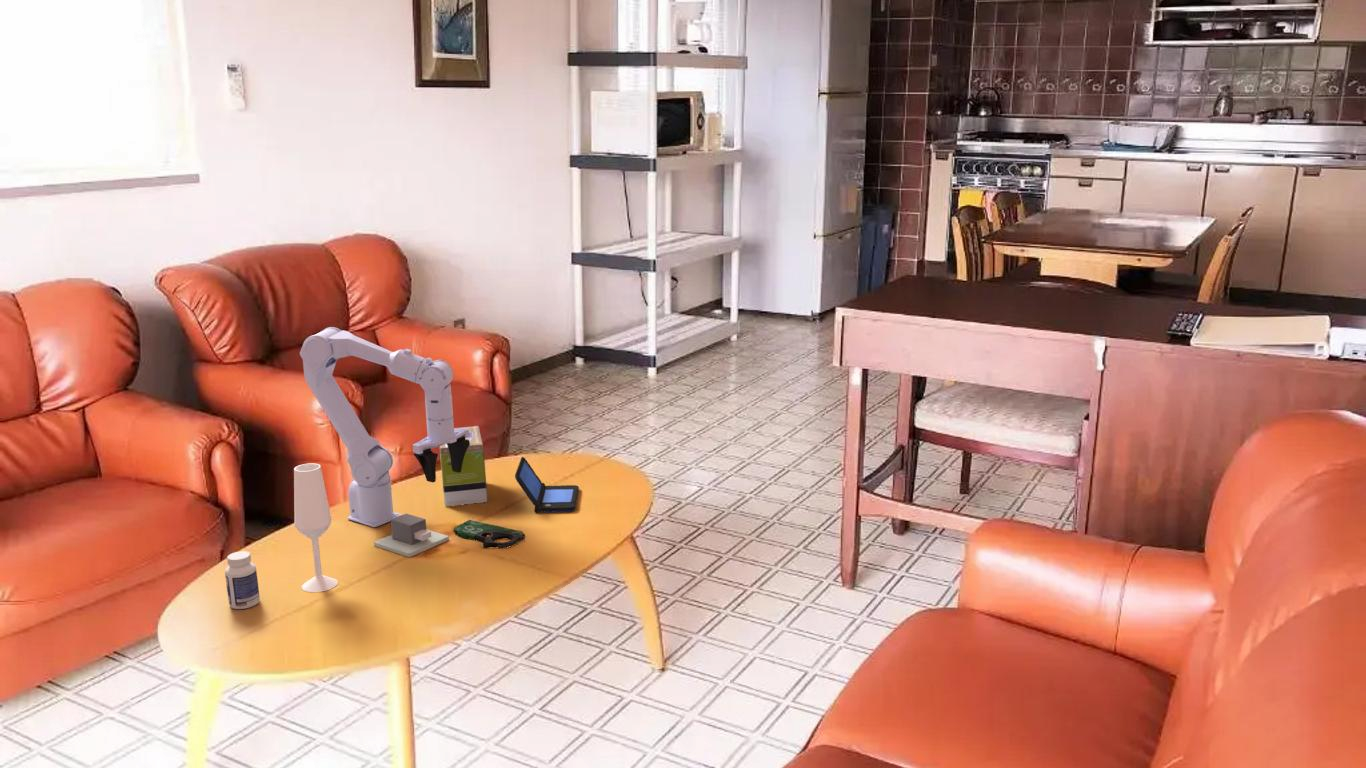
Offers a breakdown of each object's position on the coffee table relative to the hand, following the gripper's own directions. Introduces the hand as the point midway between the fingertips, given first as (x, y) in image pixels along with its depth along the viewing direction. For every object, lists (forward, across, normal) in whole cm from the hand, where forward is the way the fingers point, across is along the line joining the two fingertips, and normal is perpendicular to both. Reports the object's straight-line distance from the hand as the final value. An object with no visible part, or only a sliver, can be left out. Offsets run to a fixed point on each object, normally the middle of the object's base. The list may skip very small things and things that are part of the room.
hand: (444, 476), depth 239 cm
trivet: (+10, -13, -3) cm, 17 cm away
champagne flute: (+11, -37, -4) cm, 39 cm away
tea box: (+11, +14, +9) cm, 20 cm away
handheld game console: (+11, +22, -11) cm, 26 cm away
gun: (+11, -2, -14) cm, 18 cm away
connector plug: (+10, -13, -4) cm, 17 cm away
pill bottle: (+11, -50, +1) cm, 51 cm away
